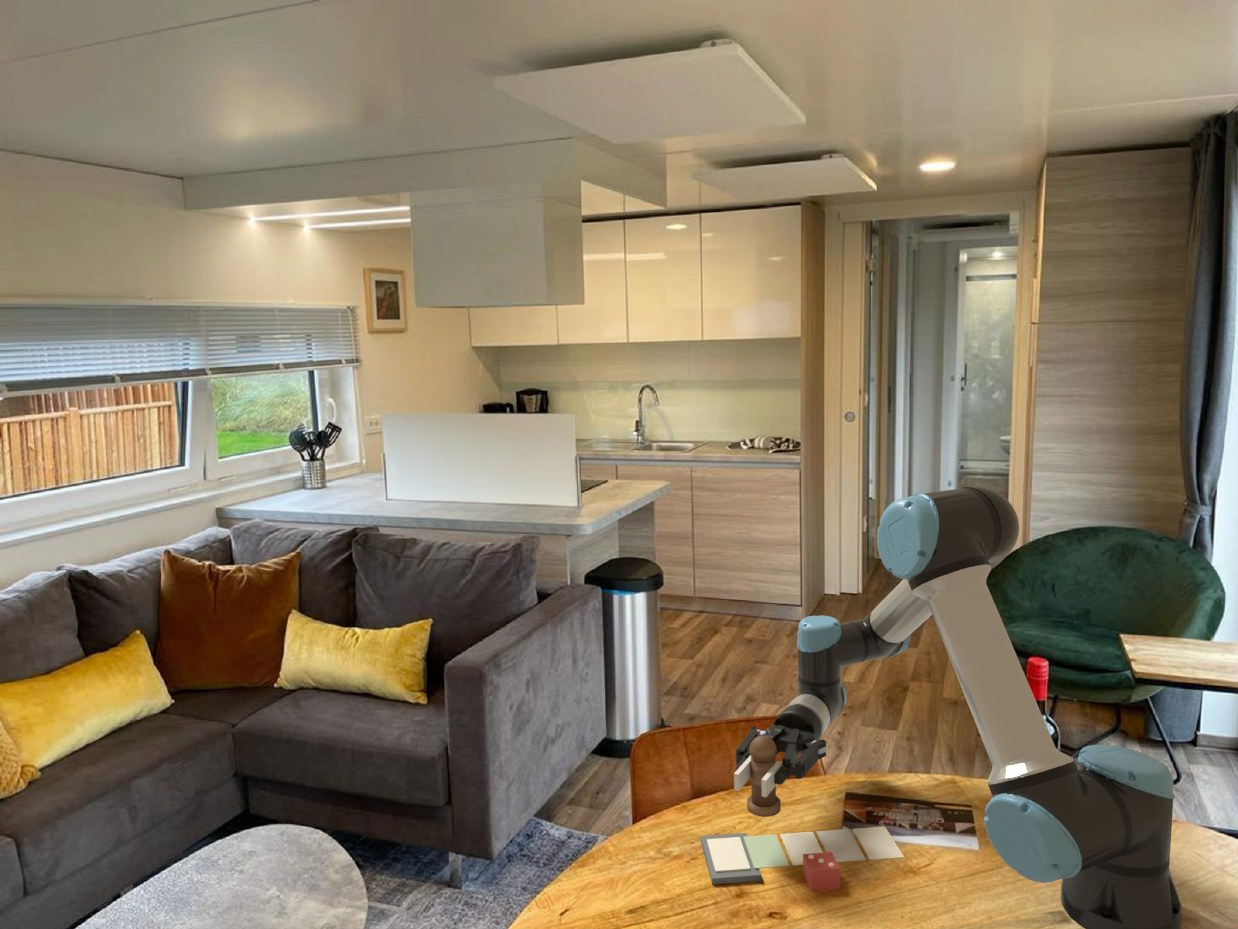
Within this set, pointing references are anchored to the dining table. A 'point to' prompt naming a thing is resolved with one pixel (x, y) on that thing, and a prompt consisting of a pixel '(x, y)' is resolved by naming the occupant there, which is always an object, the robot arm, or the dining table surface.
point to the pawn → (760, 765)
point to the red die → (821, 871)
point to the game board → (746, 854)
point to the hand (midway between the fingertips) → (750, 785)
